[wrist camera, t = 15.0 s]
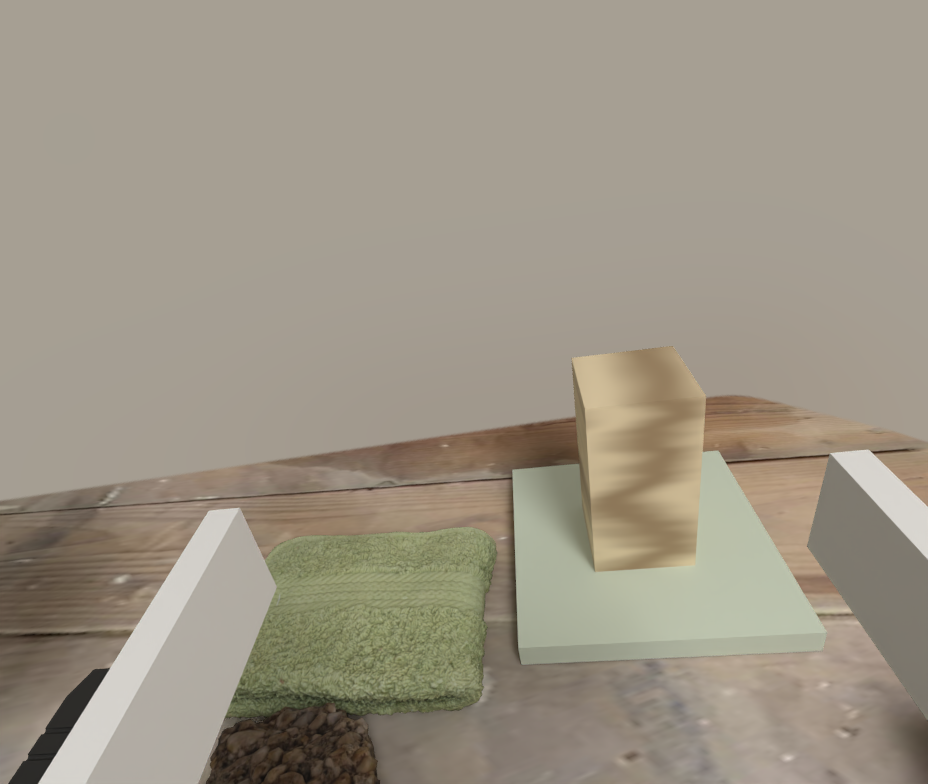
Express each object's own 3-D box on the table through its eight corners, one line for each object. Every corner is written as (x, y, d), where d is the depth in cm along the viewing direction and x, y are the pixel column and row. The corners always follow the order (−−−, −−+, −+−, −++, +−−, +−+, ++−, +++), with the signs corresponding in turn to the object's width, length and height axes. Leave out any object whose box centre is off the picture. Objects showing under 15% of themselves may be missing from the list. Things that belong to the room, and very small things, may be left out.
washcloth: (279, 554, 42) (265, 523, 41) (501, 547, 39) (495, 514, 38) (186, 725, 31) (162, 692, 30) (486, 736, 28) (477, 699, 26)
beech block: (595, 572, 34) (584, 409, 28) (582, 506, 39) (571, 358, 33) (695, 565, 33) (706, 396, 27) (668, 499, 38) (672, 346, 32)
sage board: (521, 664, 31) (518, 648, 30) (514, 484, 44) (512, 469, 44) (822, 650, 29) (827, 632, 28) (716, 466, 42) (718, 450, 42)
